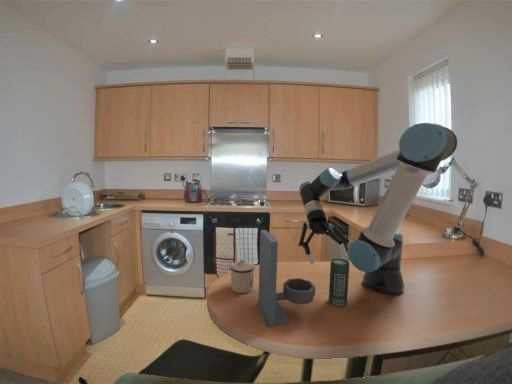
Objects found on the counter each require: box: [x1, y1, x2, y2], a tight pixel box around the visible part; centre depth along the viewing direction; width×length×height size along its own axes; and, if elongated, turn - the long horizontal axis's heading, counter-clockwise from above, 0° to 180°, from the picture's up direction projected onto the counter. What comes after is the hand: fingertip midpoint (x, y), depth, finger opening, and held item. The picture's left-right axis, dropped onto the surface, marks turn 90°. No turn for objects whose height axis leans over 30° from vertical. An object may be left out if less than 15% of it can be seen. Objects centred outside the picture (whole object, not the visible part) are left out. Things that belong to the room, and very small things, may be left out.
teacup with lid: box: [230, 258, 255, 294], centre depth 104 cm, size 12×9×12 cm
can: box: [328, 257, 350, 307], centre depth 94 cm, size 6×6×15 cm
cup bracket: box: [257, 229, 316, 328], centre depth 86 cm, size 17×14×26 cm
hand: (329, 261), depth 98 cm, fingers open, 13 cm apart
